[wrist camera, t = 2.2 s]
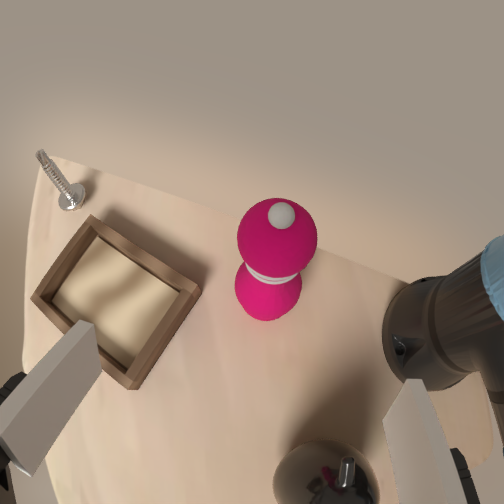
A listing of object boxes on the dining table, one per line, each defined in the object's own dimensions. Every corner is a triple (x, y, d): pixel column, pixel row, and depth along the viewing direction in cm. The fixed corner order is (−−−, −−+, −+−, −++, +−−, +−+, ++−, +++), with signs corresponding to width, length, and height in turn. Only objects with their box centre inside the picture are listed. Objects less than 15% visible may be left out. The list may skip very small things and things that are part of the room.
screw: (59, 214, 43) (72, 189, 45) (82, 219, 42) (94, 192, 44) (17, 165, 31) (36, 136, 33) (40, 167, 30) (59, 137, 32)
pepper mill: (255, 258, 40) (262, 149, 22) (305, 286, 39) (354, 195, 20) (224, 305, 38) (203, 225, 19) (276, 336, 36) (307, 283, 18)
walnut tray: (201, 293, 38) (197, 284, 35) (137, 389, 33) (127, 389, 30) (100, 226, 42) (90, 214, 39) (43, 305, 37) (30, 298, 34)
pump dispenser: (353, 425, 32) (415, 444, 18) (355, 499, 28) (409, 547, 14) (267, 436, 31) (281, 470, 17) (272, 512, 27) (286, 576, 13)
